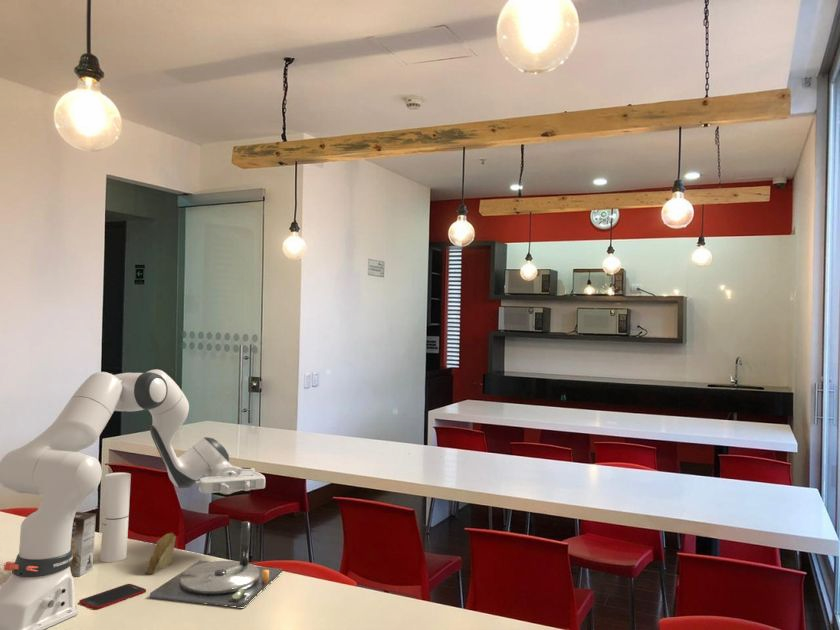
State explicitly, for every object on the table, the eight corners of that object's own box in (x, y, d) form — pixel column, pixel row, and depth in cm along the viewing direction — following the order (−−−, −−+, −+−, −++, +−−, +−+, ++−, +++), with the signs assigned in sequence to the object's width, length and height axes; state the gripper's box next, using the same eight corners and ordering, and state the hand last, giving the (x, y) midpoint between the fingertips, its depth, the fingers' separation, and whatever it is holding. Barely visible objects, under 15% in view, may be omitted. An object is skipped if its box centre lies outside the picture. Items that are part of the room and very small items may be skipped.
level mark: (267, 583, 180) (267, 572, 180) (260, 582, 180) (261, 571, 180) (269, 581, 182) (270, 570, 182) (263, 580, 182) (264, 569, 182)
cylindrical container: (116, 563, 194) (120, 478, 195) (95, 560, 196) (99, 476, 196) (131, 555, 201) (135, 473, 202) (110, 553, 203) (115, 471, 203)
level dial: (239, 597, 169) (241, 544, 169) (164, 589, 172) (166, 537, 173) (270, 569, 189) (273, 522, 190) (203, 562, 193) (205, 516, 193)
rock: (155, 570, 184) (185, 556, 192) (142, 542, 186) (173, 530, 194) (139, 585, 189) (170, 571, 197) (127, 558, 192) (158, 545, 200)
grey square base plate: (243, 608, 166) (244, 597, 166) (149, 597, 170) (150, 586, 170) (282, 573, 191) (282, 563, 192) (199, 564, 196) (200, 554, 196)
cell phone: (77, 604, 165) (77, 600, 165) (129, 586, 178) (129, 583, 178) (96, 611, 161) (96, 607, 161) (147, 593, 174) (147, 589, 174)
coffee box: (49, 574, 184) (52, 516, 184) (64, 566, 190) (67, 510, 190) (80, 576, 183) (83, 518, 183) (93, 568, 189) (97, 512, 190)
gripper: (194, 471, 207) (204, 481, 195) (258, 467, 217) (271, 476, 205) (193, 492, 207) (202, 502, 195) (257, 486, 217) (270, 496, 205)
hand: (238, 488), depth 200 cm, fingers open, 4 cm apart
